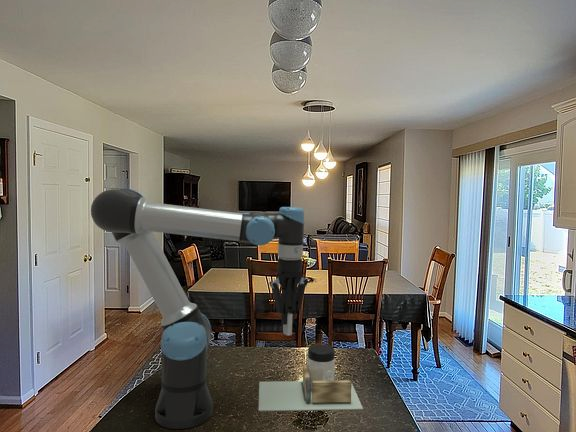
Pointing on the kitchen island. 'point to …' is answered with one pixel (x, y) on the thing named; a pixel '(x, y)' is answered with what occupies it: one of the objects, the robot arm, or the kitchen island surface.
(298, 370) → the kitchen island surface
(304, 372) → the fence panel
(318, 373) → the jar
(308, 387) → the hinge post
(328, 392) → the fixed panel
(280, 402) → the board
